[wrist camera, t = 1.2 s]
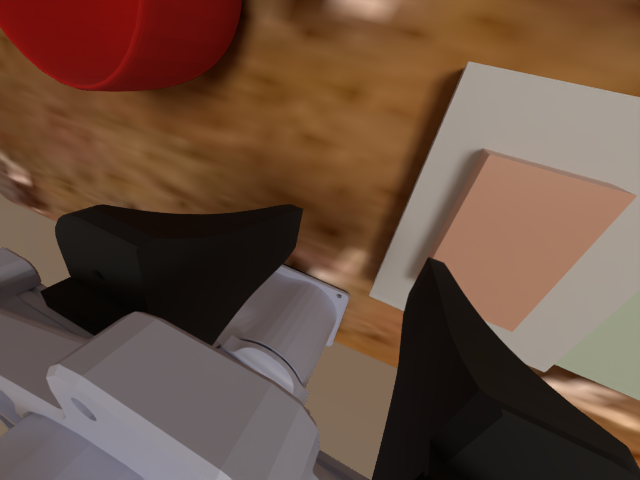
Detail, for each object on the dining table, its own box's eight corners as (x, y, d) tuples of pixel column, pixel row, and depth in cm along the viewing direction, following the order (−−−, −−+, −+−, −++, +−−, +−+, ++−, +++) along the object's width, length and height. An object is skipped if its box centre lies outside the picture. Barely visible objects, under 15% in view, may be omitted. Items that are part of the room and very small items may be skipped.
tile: (416, 275, 19) (414, 291, 17) (483, 148, 14) (489, 154, 12) (505, 310, 18) (512, 332, 16) (611, 184, 13) (637, 195, 11)
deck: (376, 275, 24) (368, 295, 21) (463, 68, 15) (468, 61, 13) (531, 340, 21) (544, 372, 18) (744, 129, 12) (819, 135, 10)
